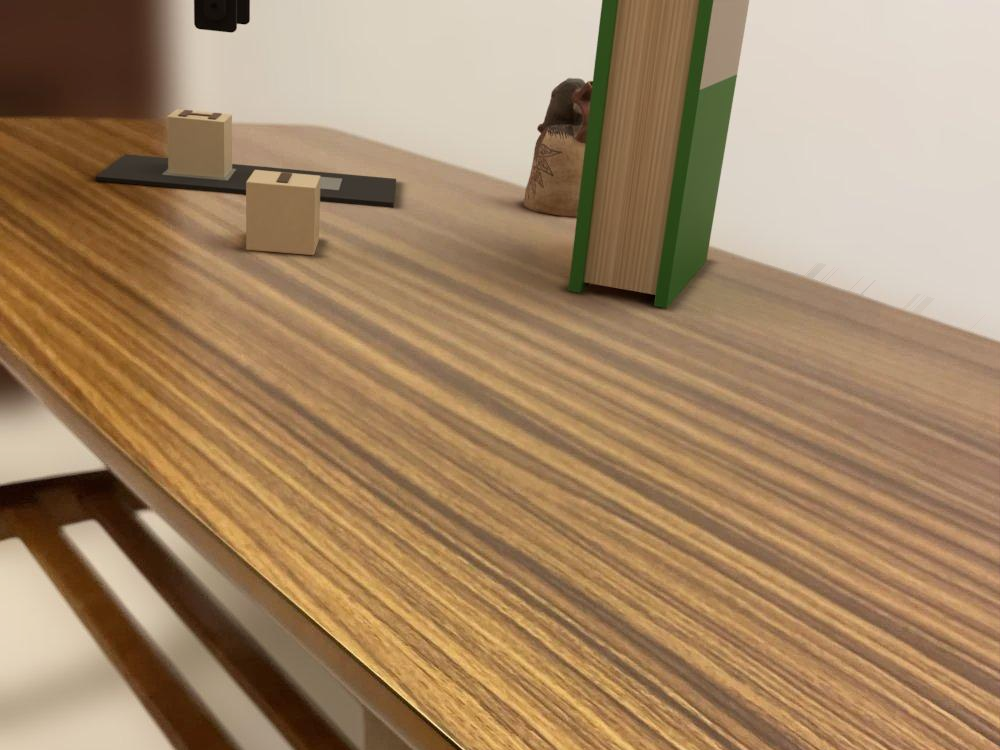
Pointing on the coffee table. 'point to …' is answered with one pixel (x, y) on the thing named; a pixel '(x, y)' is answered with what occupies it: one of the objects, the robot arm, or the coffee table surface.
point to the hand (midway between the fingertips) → (223, 26)
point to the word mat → (331, 184)
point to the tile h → (199, 143)
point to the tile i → (282, 212)
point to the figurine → (560, 151)
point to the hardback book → (655, 142)
